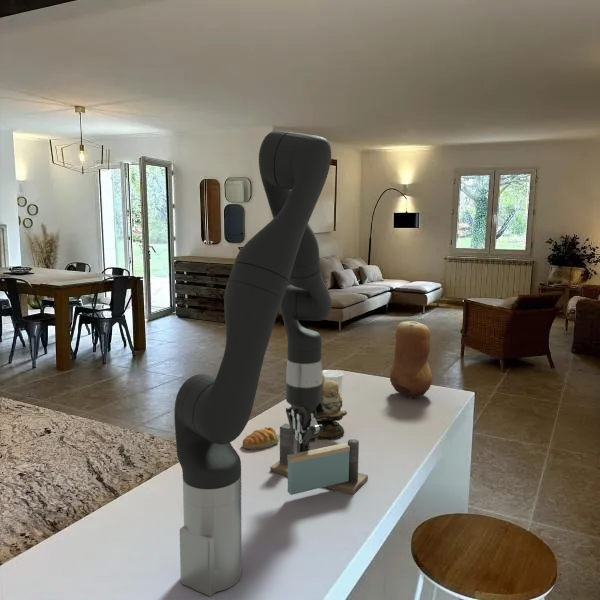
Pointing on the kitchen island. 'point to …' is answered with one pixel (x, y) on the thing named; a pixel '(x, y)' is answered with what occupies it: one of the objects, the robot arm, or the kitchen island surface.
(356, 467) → the gate frame
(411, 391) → the butternut squash
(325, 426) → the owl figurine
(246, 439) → the pastry
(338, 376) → the white cup
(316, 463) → the gate panel
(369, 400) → the kitchen island surface
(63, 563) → the kitchen island surface
